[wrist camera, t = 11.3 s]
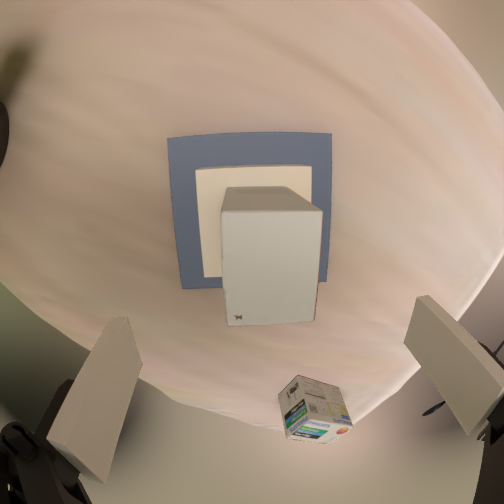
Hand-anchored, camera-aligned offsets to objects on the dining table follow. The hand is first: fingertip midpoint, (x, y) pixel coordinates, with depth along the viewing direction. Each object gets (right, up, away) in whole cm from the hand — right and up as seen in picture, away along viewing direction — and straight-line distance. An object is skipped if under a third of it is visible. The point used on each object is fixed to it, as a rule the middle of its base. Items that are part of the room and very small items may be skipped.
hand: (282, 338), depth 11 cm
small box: (-1, +7, +18) cm, 20 cm away
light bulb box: (+10, -23, +37) cm, 45 cm away
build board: (-1, +9, +24) cm, 26 cm away
